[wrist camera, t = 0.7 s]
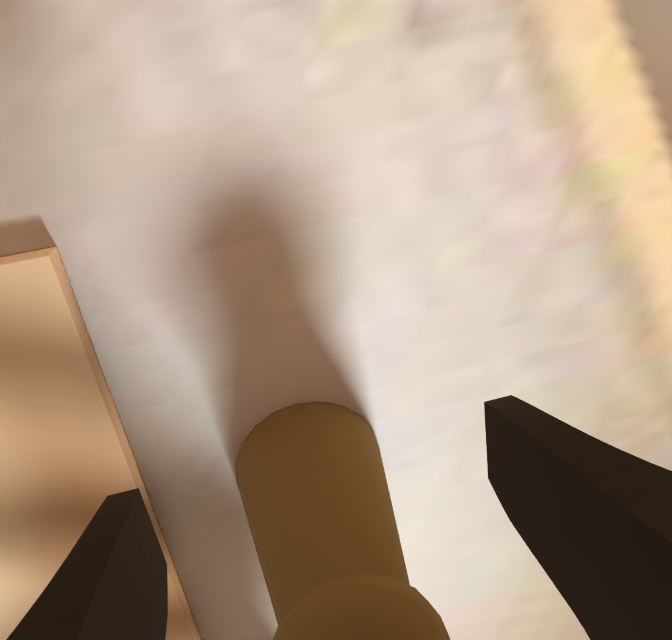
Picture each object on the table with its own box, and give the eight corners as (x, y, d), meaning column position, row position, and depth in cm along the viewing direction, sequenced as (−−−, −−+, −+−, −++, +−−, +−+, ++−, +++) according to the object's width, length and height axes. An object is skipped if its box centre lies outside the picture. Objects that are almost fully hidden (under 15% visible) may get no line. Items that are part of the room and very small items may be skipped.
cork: (211, 502, 25) (216, 801, 15) (274, 382, 23) (328, 627, 13) (338, 536, 27) (417, 817, 17) (405, 428, 25) (535, 670, 15)
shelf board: (205, 651, 28) (205, 715, 25) (3, 709, 27) (-19, 782, 24) (56, 246, 19) (32, 277, 17) (-249, 306, 18) (-327, 350, 16)
